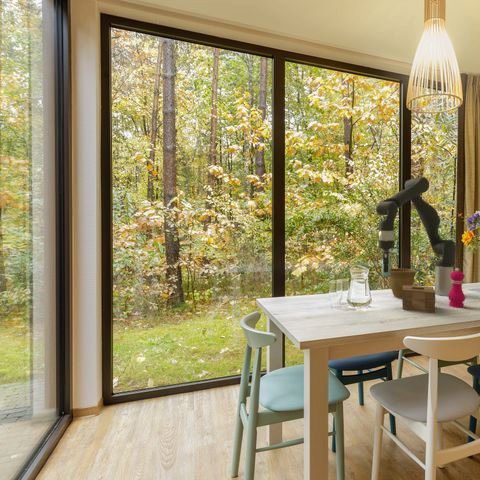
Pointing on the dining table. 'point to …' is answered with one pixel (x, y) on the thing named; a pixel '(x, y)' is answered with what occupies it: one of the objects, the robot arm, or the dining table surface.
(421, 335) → the dining table surface
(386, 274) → the peg
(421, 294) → the socket block
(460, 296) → the pepper mill
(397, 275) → the plant pot
